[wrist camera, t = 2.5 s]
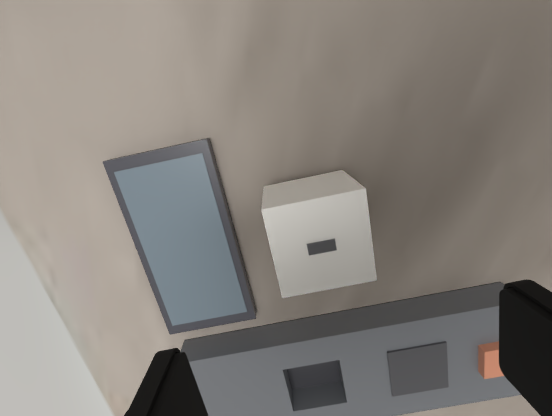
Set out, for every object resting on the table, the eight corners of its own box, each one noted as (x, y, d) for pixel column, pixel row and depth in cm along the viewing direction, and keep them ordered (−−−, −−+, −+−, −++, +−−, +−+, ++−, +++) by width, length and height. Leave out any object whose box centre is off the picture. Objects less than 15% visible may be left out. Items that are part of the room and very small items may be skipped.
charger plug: (335, 164, 20) (366, 188, 14) (345, 229, 22) (377, 281, 15) (264, 178, 21) (261, 210, 14) (279, 243, 22) (282, 299, 15)
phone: (209, 137, 20) (206, 139, 19) (256, 311, 24) (255, 319, 23) (109, 159, 20) (101, 161, 19) (173, 326, 24) (169, 335, 23)
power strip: (591, 265, 23) (640, 288, 20) (579, 355, 26) (621, 387, 23) (184, 340, 25) (172, 372, 22) (213, 417, 27) (206, 455, 24)
